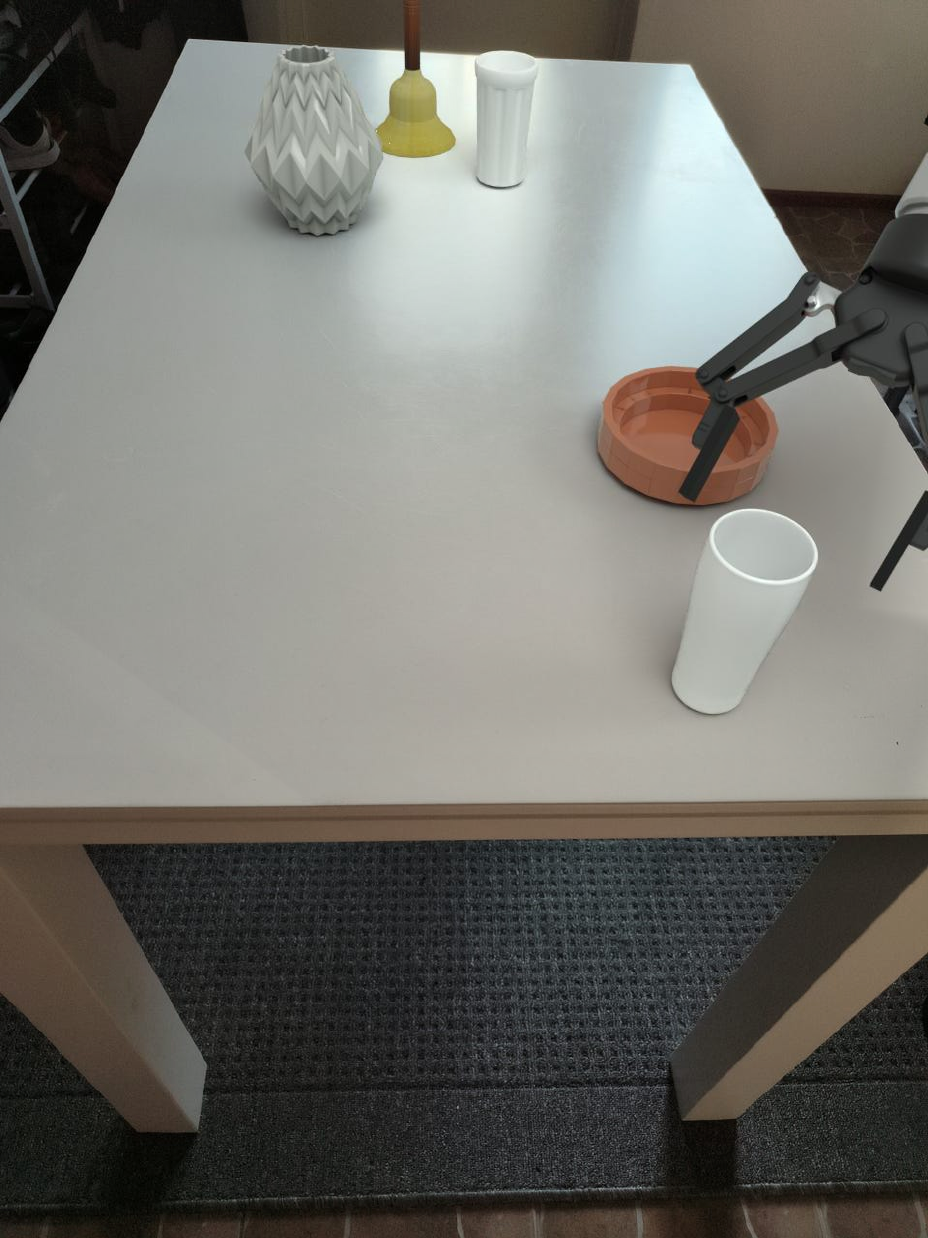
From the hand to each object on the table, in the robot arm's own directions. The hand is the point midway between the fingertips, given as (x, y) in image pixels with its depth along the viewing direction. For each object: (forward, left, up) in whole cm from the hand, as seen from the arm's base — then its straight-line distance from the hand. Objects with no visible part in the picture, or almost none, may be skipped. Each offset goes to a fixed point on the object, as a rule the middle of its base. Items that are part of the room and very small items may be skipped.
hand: (776, 541), depth 59 cm
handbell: (+61, -77, -12) cm, 99 cm away
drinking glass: (+1, +4, -12) cm, 13 cm away
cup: (+45, -70, -12) cm, 84 cm away
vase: (+61, -49, -12) cm, 79 cm away
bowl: (+9, -22, -12) cm, 26 cm away
